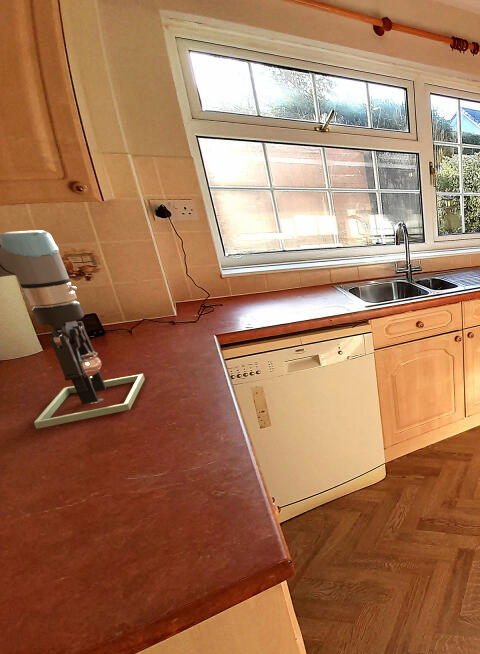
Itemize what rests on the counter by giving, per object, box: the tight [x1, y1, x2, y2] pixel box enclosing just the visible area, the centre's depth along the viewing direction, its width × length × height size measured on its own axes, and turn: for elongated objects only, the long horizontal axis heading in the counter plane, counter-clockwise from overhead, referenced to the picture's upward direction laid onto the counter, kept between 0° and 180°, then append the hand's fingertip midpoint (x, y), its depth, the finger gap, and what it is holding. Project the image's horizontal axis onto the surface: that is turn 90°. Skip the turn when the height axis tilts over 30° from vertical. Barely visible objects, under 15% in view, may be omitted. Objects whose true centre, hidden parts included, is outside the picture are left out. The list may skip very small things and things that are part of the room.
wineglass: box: [58, 351, 104, 404], centre depth 100 cm, size 7×7×12 cm
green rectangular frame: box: [33, 373, 146, 430], centre depth 102 cm, size 16×20×3 cm
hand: (94, 396), depth 102 cm, fingers open, 6 cm apart
